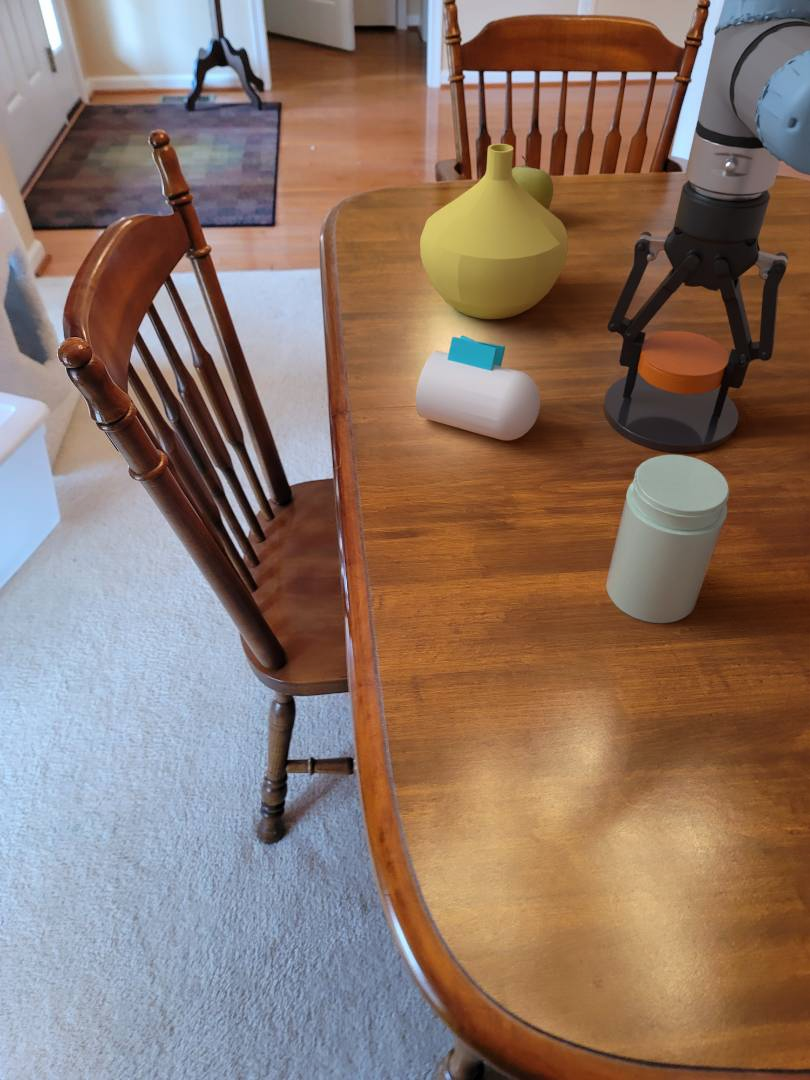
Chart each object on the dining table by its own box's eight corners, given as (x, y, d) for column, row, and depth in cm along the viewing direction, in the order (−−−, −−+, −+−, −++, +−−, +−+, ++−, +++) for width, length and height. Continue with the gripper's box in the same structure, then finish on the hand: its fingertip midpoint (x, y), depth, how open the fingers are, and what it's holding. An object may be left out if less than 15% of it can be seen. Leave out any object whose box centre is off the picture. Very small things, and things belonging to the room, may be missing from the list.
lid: (648, 342, 91) (652, 324, 89) (730, 360, 88) (736, 341, 87) (627, 382, 85) (631, 363, 84) (714, 403, 82) (720, 383, 81)
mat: (742, 394, 93) (745, 386, 92) (727, 466, 84) (730, 458, 83) (618, 368, 97) (619, 361, 96) (590, 435, 88) (591, 427, 87)
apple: (522, 233, 122) (516, 159, 117) (493, 230, 128) (487, 159, 124) (566, 223, 125) (563, 150, 120) (536, 220, 131) (531, 151, 127)
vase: (553, 270, 115) (571, 122, 102) (567, 337, 102) (590, 178, 89) (420, 269, 116) (422, 121, 103) (418, 336, 103) (419, 176, 89)
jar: (702, 572, 73) (739, 464, 65) (689, 634, 68) (727, 525, 60) (616, 549, 75) (641, 442, 67) (597, 607, 70) (621, 499, 62)
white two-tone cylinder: (540, 362, 79) (426, 334, 83) (519, 453, 83) (410, 422, 86) (570, 352, 89) (467, 327, 93) (550, 433, 93) (451, 406, 97)
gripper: (597, 183, 74) (565, 398, 90) (857, 219, 68) (774, 442, 84) (615, 155, 79) (582, 363, 95) (858, 187, 73) (780, 403, 89)
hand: (672, 400), depth 89 cm, fingers closed on lid, 9 cm apart
